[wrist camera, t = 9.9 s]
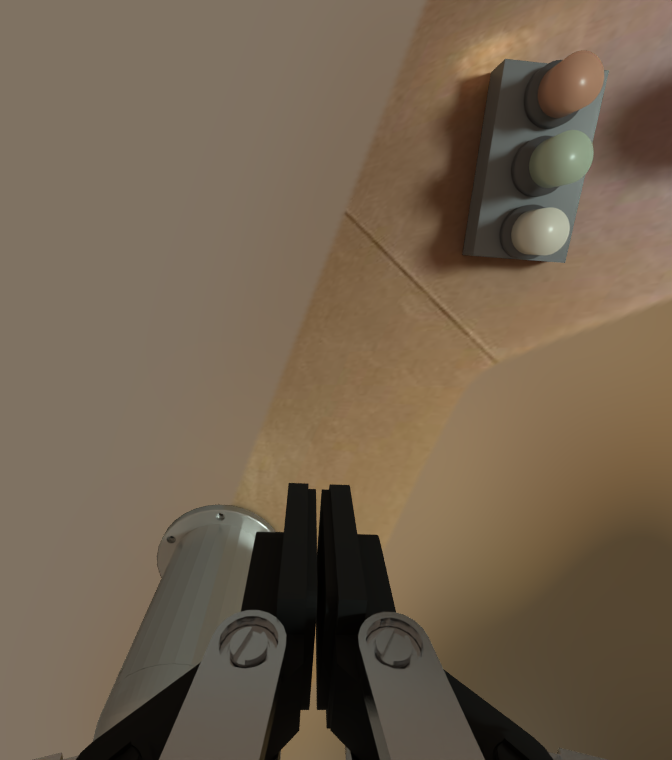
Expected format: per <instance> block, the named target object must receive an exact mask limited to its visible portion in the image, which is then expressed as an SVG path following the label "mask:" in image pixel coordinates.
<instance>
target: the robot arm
mask: <svg viewBox="0 0 672 760" xmlns="http://www.w3.org/2000/svg"><path fill="white" fill-rule="evenodd" d="M157 565H158V569H159V572H160V576H161V578H162V579H161V581H160V583H159V586H158V588H157V590H156V592H155V595H154V597H153V599H152V601H151V604H150V606H149V608H148V610H147V613H146V614H145V617H144V619H143V621H142V623H141V626H140V628H139V630H138V632H137V635H136V637H135V639H134V641H133V643H132V646H131V648H130V650H129V652H128V655H127V657H126V659H125V661H124V663H123V666H122V668H121V670H120V672H119V675H118V677H117V679H116V682H115V684H114V686H113V688H112V690H111V693H110V695H109V697H108V700H107V702H106V704H105V706H104V709H103V711H102V713H101V715H100V718H99V720H98V723H97V726H96V730H95V734H94V739H93V742H92V743H91V744H90V745H89V746H88V747H87V748H85V750H83V751H82V752H81V753H80V755H79V756H75V757H71V758H67V759H63V756H62V753H58V754H54V755H50V756H46V757H42V758H38V759H34V760H280V755H281V749H282V748H283V747H284V746H285V745H286V744H287V743H288V742H289V741H290V740H291V739H292V738H293V736H294V735H295V734H296V733H297V732H298V731H299V724H300V710H309V706H310V692H311V679H312V666H313V653H314V639H315V626H316V677H317V710H326V720H327V728H331V731H332V732H333V733H334V734H335V735H336V736H337V737H338V739H339V740H340V741H341V742H342V743H343V744H344V745H345V754H346V760H607V759H603V758H599V757H594V756H590V755H587V754H582V753H578V752H574V751H570V750H566V749H562V748H559V749H558V752H557V754H554V753H550V752H547V750H546V749H545V748H544V747H543V746H542V745H541V744H540V743H539V742H538V741H537V740H536V739H535V738H534V737H532V736H531V735H530V734H528V733H527V732H526V731H524V730H523V729H522V728H521V727H519V726H518V725H517V724H515V723H514V722H513V721H511V720H510V719H509V718H507V717H506V716H504V715H503V714H502V713H501V712H499V711H498V710H497V709H495V708H494V707H492V706H491V705H490V704H489V703H487V702H486V701H485V700H483V699H482V698H481V697H479V696H478V695H477V694H475V693H474V692H473V691H471V690H470V689H469V688H467V687H466V686H465V685H463V684H462V683H461V682H459V681H458V680H457V679H455V678H454V677H453V676H451V675H450V674H449V673H448V672H446V671H445V670H444V669H443V668H442V665H441V663H440V661H439V659H438V657H437V655H436V652H435V650H434V648H433V646H432V644H431V642H430V640H429V637H428V636H427V634H426V633H425V631H424V629H423V628H422V627H421V626H420V625H419V624H418V623H417V622H415V621H414V620H413V619H411V618H409V617H407V616H405V615H403V614H399V613H396V610H395V607H394V601H393V597H392V593H391V588H390V584H389V579H388V575H387V571H386V566H385V562H384V557H383V553H382V548H381V544H380V540H379V537H378V535H363V534H357V530H356V523H355V517H354V510H353V504H352V497H351V491H350V486H349V485H330V486H329V490H322V494H321V508H320V522H319V536H318V549H317V529H316V489H308V484H302V483H289V486H288V496H287V507H286V517H285V527H284V532H275V530H274V529H273V528H272V526H271V525H269V524H268V523H267V522H266V521H265V520H264V519H263V518H261V517H260V516H258V515H256V514H255V513H253V512H251V511H248V510H246V509H243V508H239V507H235V506H230V505H211V506H204V507H200V508H196V509H194V510H191V511H189V512H187V513H185V514H183V515H182V516H181V517H179V518H178V519H176V520H175V521H174V522H173V523H172V525H170V527H169V528H168V529H167V531H166V533H165V535H164V536H163V538H162V540H161V543H160V545H159V548H158V553H157Z"/></svg>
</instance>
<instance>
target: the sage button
mask: <svg viewBox="0 0 672 760" xmlns="http://www.w3.org/2000/svg"><path fill="white" fill-rule="evenodd" d="M592 160H593V145H592V142H591V140H590V139H589V137H588V136H587V135H586V134H585V133H583V132H581V131H578V130H568V131H565V132H563V133H561V134H558V135H556V136H554V137H551V138H549V139H547V140H545V141H543V142H542V143H540V144H539V145H538V146H537V147H536V148H535V150H534V151H533V153H532V155H531V158H530V163H529V171H530V175H531V177H532V179H533V181H534V182H535V183H536V184H537V185H539V186H541V187H543V188H553V187H558V186H562V185H566V184H571V183H574V182H576V181H578V180H579V179H581V178H582V177H583V176H584V175H585V174H586V173H587V171H588V170H589V168H590V166H591V164H592Z"/></svg>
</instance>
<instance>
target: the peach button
mask: <svg viewBox="0 0 672 760" xmlns="http://www.w3.org/2000/svg"><path fill="white" fill-rule="evenodd" d="M603 82H604V68H603V65H602V62H601V61H600V59H599V58H598V57H597V56H596V55H595V54H594V53H592V52H590V51H577V52H575V53H573V54H571V55H569V56H568V57H567V58H565V59H564V60H562V61H561V62H560V63H558V64H557V65H556V66H554V67H553V68H551V69H550V70H549V71H548V72H547V73H546V74H545V75H544V77H543V78H542V80H541V82H540V85H539V89H538V102H539V105H540V107H541V109H542V111H543V112H544V113H545V114H546V115H548V116H549V117H552V118H562V117H565V116H567V115H569V114H571V113H573V112H575V111H578V110H580V109H582V108H584V107H586V106H587V105H589V104H590V103H592V102H593V101H594V100H595V99H596V97H597V96H598V94H599V93H600V91H601V89H602V86H603Z"/></svg>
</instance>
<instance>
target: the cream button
mask: <svg viewBox="0 0 672 760" xmlns="http://www.w3.org/2000/svg"><path fill="white" fill-rule="evenodd" d="M569 231H570V225H569V220H568V218H567V216H566V215H565V213H564V212H562V211H561V210H559V209H557V208H552V207H549V208H542V209H536V210H530V211H527V212H525V213H523V214H522V215H521V216H519V217H518V219H517V220H516V221H515V223H514V225H513V228H512V232H511V238H512V243H513V245H514V247H515V248H516V249H517V250H518V251H519V252H521V253H523V254H528V255H550V254H553V253H555V252H557V251H558V250H559V249H560V248H561V247H562V246H563V245H564V244H565V242H566V240H567V238H568V236H569Z"/></svg>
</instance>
